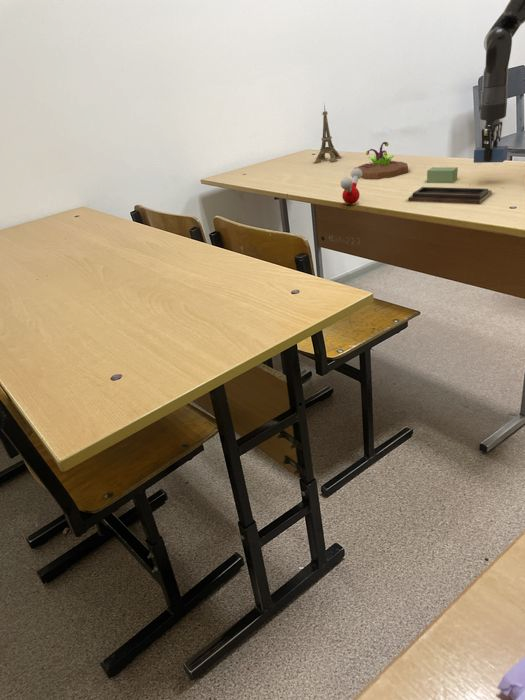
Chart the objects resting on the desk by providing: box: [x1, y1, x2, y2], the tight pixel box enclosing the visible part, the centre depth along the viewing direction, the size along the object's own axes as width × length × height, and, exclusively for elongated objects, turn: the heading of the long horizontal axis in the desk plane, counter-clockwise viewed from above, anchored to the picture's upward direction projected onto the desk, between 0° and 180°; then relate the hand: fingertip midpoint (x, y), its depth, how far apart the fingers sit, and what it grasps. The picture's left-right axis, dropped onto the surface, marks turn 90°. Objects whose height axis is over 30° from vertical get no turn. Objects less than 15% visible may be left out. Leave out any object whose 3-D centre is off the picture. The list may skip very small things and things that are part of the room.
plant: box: [353, 141, 409, 180], centre depth 207 cm, size 20×20×11 cm
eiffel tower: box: [313, 103, 343, 164], centre depth 240 cm, size 11×11×25 cm
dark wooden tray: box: [408, 186, 493, 205], centre depth 166 cm, size 22×12×2 cm, turn 54°
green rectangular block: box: [426, 166, 459, 184], centre depth 185 cm, size 9×5×4 cm, turn 54°
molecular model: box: [340, 167, 363, 205], centre depth 172 cm, size 18×6×10 cm, turn 165°
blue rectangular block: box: [473, 145, 509, 164], centre depth 171 cm, size 9×5×4 cm, turn 54°
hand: (490, 158), depth 172 cm, fingers closed on blue rectangular block, 5 cm apart
